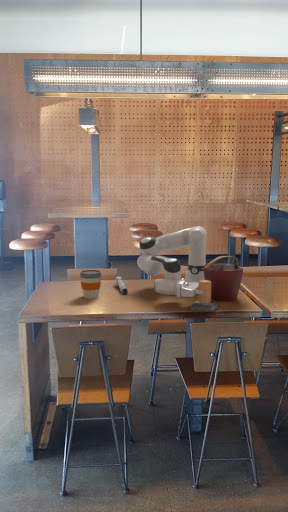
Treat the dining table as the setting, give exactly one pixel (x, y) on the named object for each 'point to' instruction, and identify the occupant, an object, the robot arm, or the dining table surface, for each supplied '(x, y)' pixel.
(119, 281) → the white blue cylinder
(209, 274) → the bucket
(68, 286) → the dining table surface
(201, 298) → the tan upright cylinder
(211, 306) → the post base
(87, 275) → the reusable coffee cup
